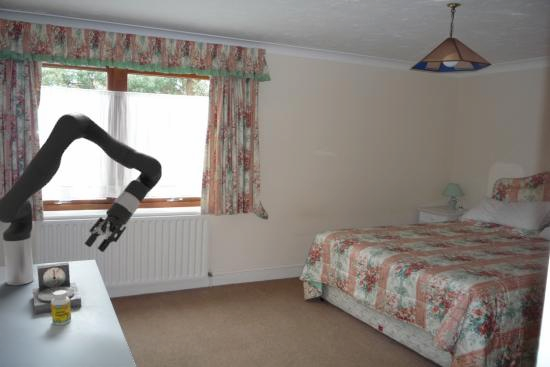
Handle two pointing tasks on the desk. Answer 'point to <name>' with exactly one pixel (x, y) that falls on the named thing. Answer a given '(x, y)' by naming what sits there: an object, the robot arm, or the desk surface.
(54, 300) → the supplement bottle
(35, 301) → the scale
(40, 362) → the desk surface
